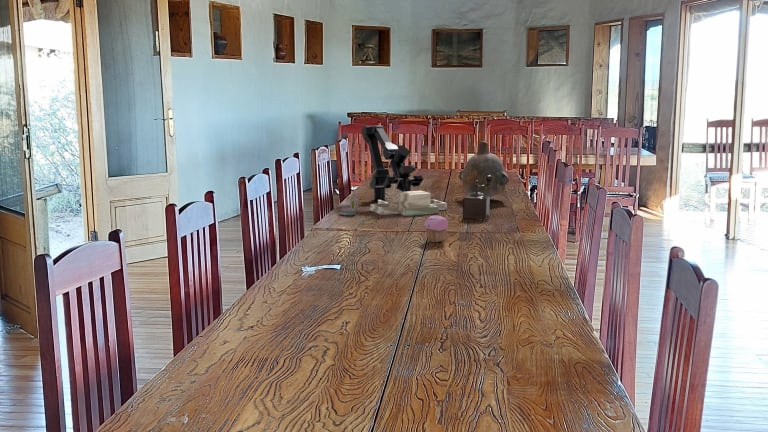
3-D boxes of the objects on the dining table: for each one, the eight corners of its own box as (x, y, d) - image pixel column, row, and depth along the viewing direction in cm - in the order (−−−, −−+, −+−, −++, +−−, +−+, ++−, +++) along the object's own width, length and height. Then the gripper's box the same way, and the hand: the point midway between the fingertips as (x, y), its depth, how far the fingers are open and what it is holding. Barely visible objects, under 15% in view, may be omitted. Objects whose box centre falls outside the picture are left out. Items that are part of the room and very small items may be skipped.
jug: (506, 197, 394) (508, 139, 388) (508, 204, 373) (511, 143, 367) (458, 196, 396) (460, 138, 390) (458, 203, 375) (460, 142, 369)
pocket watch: (336, 215, 339) (336, 193, 337) (346, 212, 347) (346, 190, 345) (352, 217, 336) (352, 194, 334) (362, 214, 343) (362, 192, 341)
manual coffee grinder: (486, 220, 332) (488, 179, 328) (461, 218, 335) (463, 177, 332) (493, 214, 346) (494, 174, 343) (469, 212, 350) (470, 173, 346)
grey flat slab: (361, 207, 360) (361, 201, 359) (424, 202, 375) (424, 196, 375) (388, 217, 336) (388, 210, 335) (454, 211, 351) (454, 205, 351)
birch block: (399, 211, 351) (399, 191, 350) (420, 209, 356) (420, 190, 355) (409, 214, 343) (409, 194, 342) (430, 212, 349) (430, 193, 347)
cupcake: (433, 238, 294) (434, 212, 292) (452, 241, 289) (452, 215, 287) (419, 241, 287) (420, 215, 286) (438, 245, 282) (439, 218, 280)
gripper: (386, 159, 350) (397, 186, 342) (421, 157, 359) (433, 184, 351) (378, 174, 358) (389, 201, 351) (413, 172, 367) (424, 198, 359)
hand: (409, 195), depth 353 cm, fingers closed, pressing on birch block
